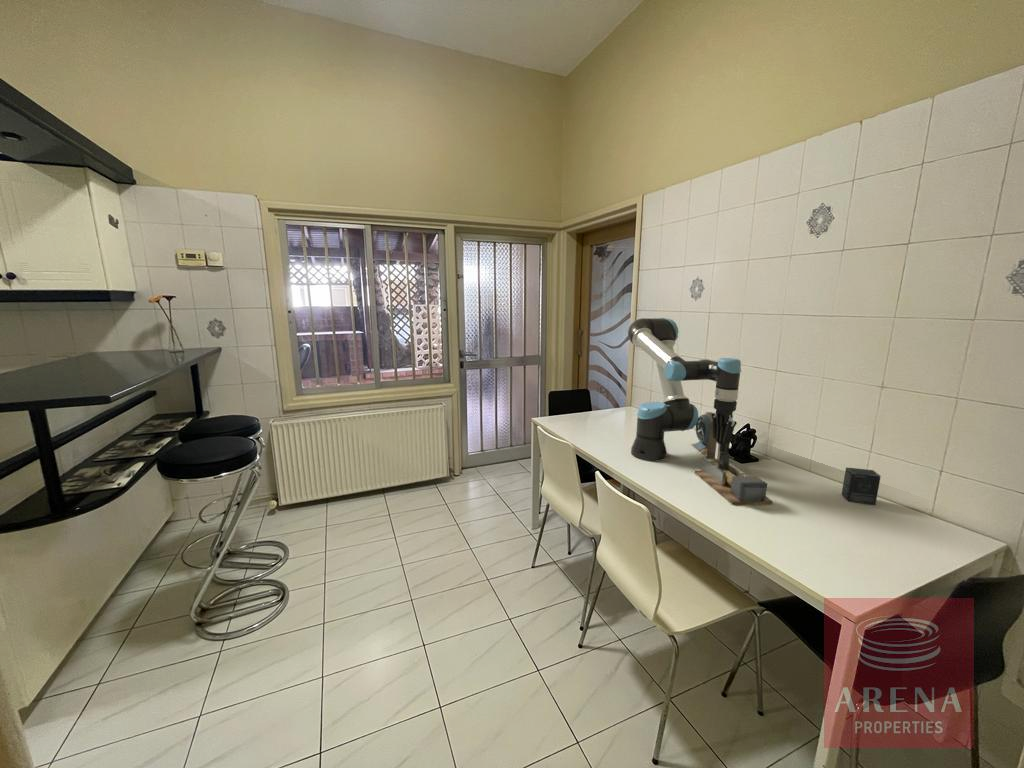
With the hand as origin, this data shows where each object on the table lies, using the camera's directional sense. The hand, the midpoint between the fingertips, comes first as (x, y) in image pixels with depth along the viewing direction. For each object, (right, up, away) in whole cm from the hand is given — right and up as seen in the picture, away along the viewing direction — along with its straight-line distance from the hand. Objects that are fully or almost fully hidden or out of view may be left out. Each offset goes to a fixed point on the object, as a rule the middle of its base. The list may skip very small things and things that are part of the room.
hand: (719, 458), depth 155 cm
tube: (0, -7, -3) cm, 8 cm away
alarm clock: (+11, -2, +32) cm, 33 cm away
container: (+5, -5, +13) cm, 15 cm away
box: (+40, -12, -16) cm, 44 cm away
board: (0, -9, -7) cm, 12 cm away
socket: (+1, -10, -17) cm, 20 cm away
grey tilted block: (0, -7, -1) cm, 7 cm away
